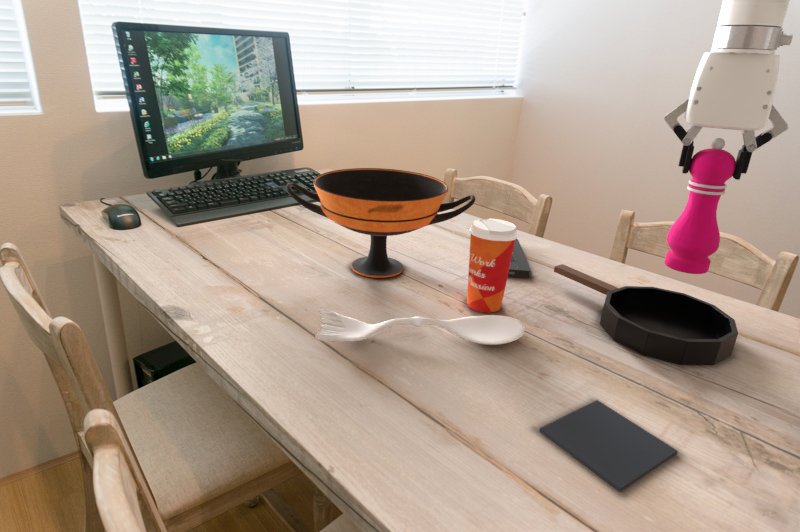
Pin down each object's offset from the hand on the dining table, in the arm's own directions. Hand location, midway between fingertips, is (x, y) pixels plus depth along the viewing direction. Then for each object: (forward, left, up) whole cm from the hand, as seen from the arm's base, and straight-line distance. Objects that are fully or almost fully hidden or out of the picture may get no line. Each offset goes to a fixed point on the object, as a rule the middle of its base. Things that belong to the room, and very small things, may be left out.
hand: (710, 173), depth 78 cm
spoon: (+18, +37, -27) cm, 49 cm away
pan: (+7, 0, -27) cm, 28 cm away
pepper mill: (0, 0, -15) cm, 15 cm away
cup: (+45, +28, -27) cm, 60 cm away
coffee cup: (+22, +20, -27) cm, 40 cm away
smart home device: (+37, 0, -27) cm, 46 cm away
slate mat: (-12, +32, -27) cm, 43 cm away
